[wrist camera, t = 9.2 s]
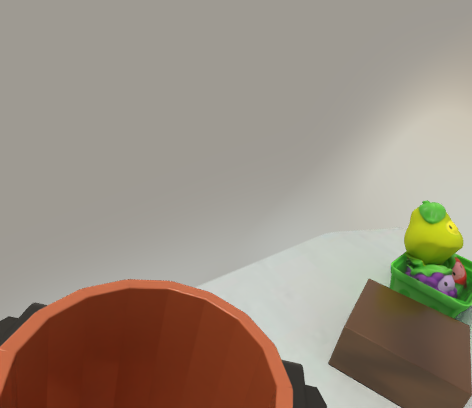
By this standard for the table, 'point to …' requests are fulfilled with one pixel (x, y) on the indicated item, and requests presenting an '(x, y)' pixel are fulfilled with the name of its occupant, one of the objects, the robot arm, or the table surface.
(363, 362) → the block
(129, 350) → the cup
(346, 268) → the table surface
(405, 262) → the fruit basket
